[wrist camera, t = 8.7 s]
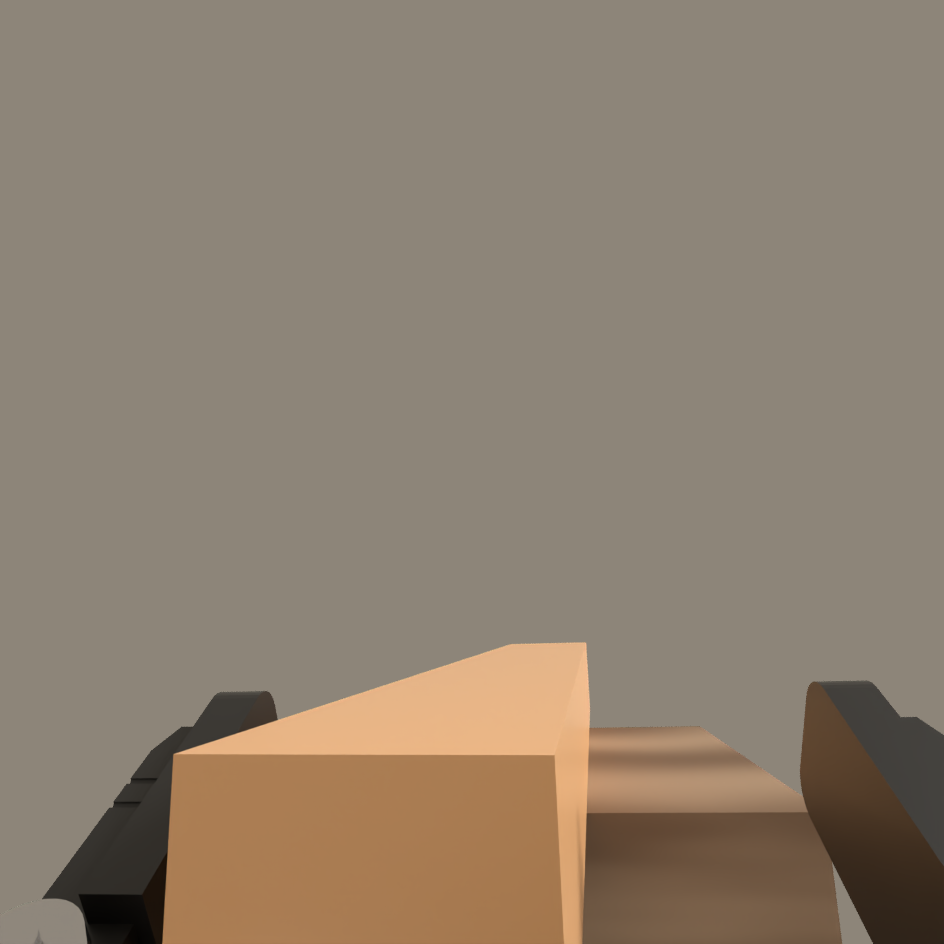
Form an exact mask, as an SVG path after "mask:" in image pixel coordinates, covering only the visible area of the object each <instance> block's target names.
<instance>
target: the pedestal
mask: <svg viewBox="0 0 944 944" xmlns="http://www.w3.org/2000/svg"><path fill="white" fill-rule="evenodd" d="M582 944H842V939H841V931H840V923H839V915H838V907H837V899H836V891H835V883H834V876H833V867H832V860H831V858H830V856H829V854H828V852H827V850H826V848H825V846H824V844H823V842H822V840H821V838H820V836H819V834H818V832H817V830H816V828H815V826H814V824H813V822H812V820H811V818H810V816H809V814H808V811H807V808H806V805H805V802H804V798H803V796H801V795H800V794H798V793H797V792H795V791H794V790H792V789H791V788H789V787H788V786H786V785H784V783H782V782H781V781H779V780H778V779H776V778H775V777H773V776H772V775H770V774H769V773H767V772H766V771H764V770H763V769H762V768H760V767H759V766H757V765H756V764H754V763H753V762H751V761H750V760H748V759H747V758H745V757H744V756H742V755H741V754H740V753H738V752H736V751H735V750H734V749H732V748H731V747H729V746H728V745H726V744H725V743H723V742H722V741H720V740H719V739H717V738H716V737H714V736H713V735H711V734H710V733H709V732H707V731H706V730H704V729H703V728H701V727H700V726H690V727H625V728H623V727H621V728H589V755H588V785H587V816H586V847H585V878H584V909H583V939H582Z"/></svg>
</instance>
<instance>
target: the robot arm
mask: <svg viewBox="0 0 944 944" xmlns="http://www.w3.org/2000/svg"><path fill="white" fill-rule="evenodd" d="M277 720H278V719H277V714H276V709H275V704H274V701H273V698H272V696H271V694H270V693H269V692H267V691H261V692H260V691H256V692H220V693H217V694H216V695H215V696H214V697H213V699H212V700H211V702H210V703H209V704H208V706H207V707H206V709H205V710H204V712H203V713H202V715H201V716H200V717H199V719H198V720H197V722H196V723H195V725H194V726H193V727H181V728H180V729H178V730H177V731H176V732H175V733H173V734H172V735H171V736H169V737H168V738H167V739H166V740H164V741H163V742H162V743H160V744H159V745H158V746H157V747H155V748H154V749H153V750H151V752H150V754H149V755H148V756H147V757H146V759H145V760H144V761H143V763H142V764H141V765H140V767H139V768H138V769H137V771H136V772H135V773H134V775H133V776H132V778H131V783H130V784H126V786H125V787H124V788H123V790H122V791H121V793H120V794H119V795H118V797H117V798H116V799H115V801H114V806H113V808H109V809H108V810H107V811H106V813H105V814H104V816H103V817H102V818H101V820H100V821H99V822H98V824H97V825H96V826H95V828H94V829H93V831H92V832H91V833H90V835H89V836H88V837H87V839H86V840H85V841H84V843H83V844H82V845H81V847H80V848H79V850H78V851H77V852H76V854H75V855H74V856H73V858H72V859H71V860H70V862H69V863H68V865H67V866H66V867H65V868H64V870H63V871H62V873H61V874H60V875H59V877H58V878H57V879H56V881H55V882H54V883H53V885H52V886H51V887H50V889H49V890H48V892H47V893H46V894H45V896H44V897H43V898H42V900H36V901H32V902H29V903H26V904H22V905H20V906H18V907H15V908H13V909H10V910H8V911H7V912H5V913H3V914H1V915H0V944H162V942H163V925H164V908H165V891H166V874H167V857H168V839H169V822H170V805H171V788H172V771H173V754H176V753H179V752H182V751H185V750H188V749H191V748H194V747H197V746H200V745H203V744H206V743H209V742H212V741H216V740H219V739H222V738H225V737H228V736H231V735H234V734H237V733H240V732H243V731H246V730H249V729H252V728H255V727H258V726H261V725H265V724H268V723H271V722H274V721H277ZM800 779H801V787H802V793H803V798H804V802H805V805H806V808H807V811H808V814H809V816H810V818H811V820H812V822H813V824H814V826H815V828H816V830H817V832H818V834H819V836H820V838H821V840H822V842H823V844H824V846H825V848H826V850H827V852H828V854H829V856H830V858H831V860H832V862H833V864H834V866H835V868H836V870H837V872H838V874H839V876H840V878H841V880H842V882H843V884H844V886H845V888H846V890H847V892H848V894H849V896H850V898H851V900H852V902H853V904H854V906H855V908H856V910H857V912H858V914H859V916H860V918H861V920H862V922H863V924H864V926H865V928H866V930H867V932H868V934H869V936H870V938H871V940H872V942H873V944H944V735H943V734H941V733H940V732H938V731H936V730H935V729H934V728H932V727H930V726H929V725H928V724H926V723H924V722H923V721H922V720H920V719H919V718H917V717H900V716H899V715H898V714H897V712H896V711H895V710H894V709H893V707H892V706H891V705H890V704H889V702H888V701H887V700H886V699H885V697H884V696H883V695H882V694H881V692H880V691H879V690H878V689H877V687H876V686H875V685H874V684H873V683H871V682H869V681H831V682H830V681H828V682H812V683H811V684H810V685H809V687H808V691H807V696H806V707H805V719H804V730H803V742H802V753H801V765H800Z"/></svg>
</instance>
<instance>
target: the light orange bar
mask: <svg viewBox="0 0 944 944" xmlns="http://www.w3.org/2000/svg"><path fill="white" fill-rule="evenodd" d="M589 724H590V701H589V685H588V667H587V651H586V643H584V642H583V643H539V644H510V645H507V646H504V647H501V648H498V649H494V650H491V651H488V652H485V653H482V654H479V655H476V656H473V657H470V658H467V659H464V660H461V661H458V662H455V663H452V664H449V665H445V666H442V667H439V668H436V669H433V670H430V671H427V672H424V673H421V674H418V675H415V676H412V677H409V678H406V679H403V680H399V681H397V682H394V683H390V684H387V685H384V686H381V687H378V688H375V689H372V690H369V691H366V692H363V693H360V694H357V695H354V696H351V697H347V698H344V699H341V700H338V701H335V702H332V703H329V704H326V705H323V706H320V707H317V708H314V709H311V710H308V711H304V712H302V713H298V714H295V715H292V716H289V717H286V718H283V719H280V720H277V721H274V722H271V723H268V724H265V725H261V726H258V727H255V728H252V729H249V730H246V731H243V732H240V733H237V734H234V735H231V736H228V737H225V738H222V739H219V740H216V741H212V742H209V743H206V744H203V745H200V746H197V747H194V748H191V749H188V750H185V751H182V752H179V753H176V754H173V771H172V788H171V805H170V822H169V839H168V857H167V874H166V891H165V908H164V925H163V942H162V944H582V939H583V909H584V878H585V847H586V816H587V785H588V755H589Z"/></svg>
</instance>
